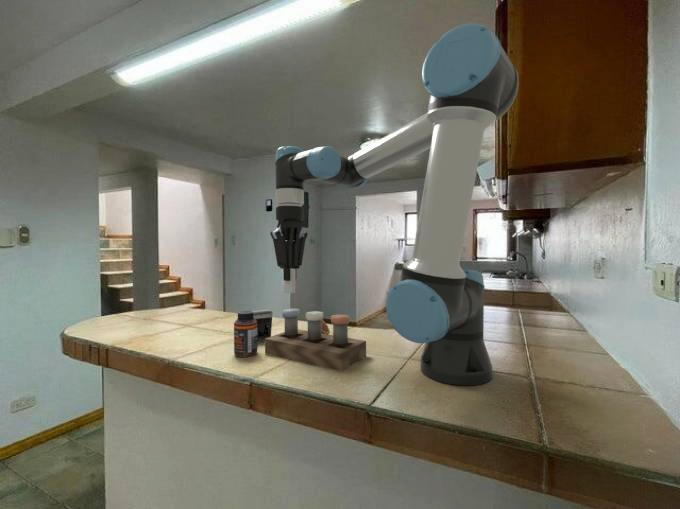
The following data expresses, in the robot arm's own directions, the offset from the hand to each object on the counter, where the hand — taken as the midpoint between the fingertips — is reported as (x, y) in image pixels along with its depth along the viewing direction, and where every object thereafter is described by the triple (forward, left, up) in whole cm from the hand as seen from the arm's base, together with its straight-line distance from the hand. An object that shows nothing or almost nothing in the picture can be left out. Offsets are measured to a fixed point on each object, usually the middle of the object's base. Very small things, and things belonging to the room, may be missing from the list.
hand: (290, 292), depth 90 cm
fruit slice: (+1, -14, -16) cm, 21 cm away
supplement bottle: (+8, +9, -16) cm, 20 cm away
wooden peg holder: (-8, 0, -16) cm, 18 cm away
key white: (-8, 0, -11) cm, 14 cm away
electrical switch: (+15, -2, -16) cm, 22 cm away
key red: (-16, 0, -11) cm, 20 cm away
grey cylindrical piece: (0, 0, -11) cm, 11 cm away
